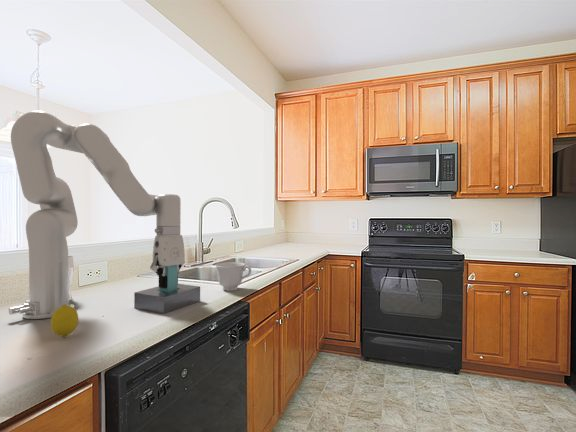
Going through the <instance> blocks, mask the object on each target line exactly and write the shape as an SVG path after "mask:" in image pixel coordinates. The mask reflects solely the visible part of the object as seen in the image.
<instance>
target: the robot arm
mask: <svg viewBox="0 0 576 432" xmlns="http://www.w3.org/2000/svg"><path fill="white" fill-rule="evenodd" d="M10 130H11V131H10V141H11V142H10V144H11V147H12V152H13V156H14V159H15V165H16V169H17V174H18V178H19V182H20V187H21V190H22V191H21V192H22V194H23V196H24V198H25V199H26V200H27V201H28V202H29V203H31V204H35V205H39V207H40V208H39V209H38V210H36V211H35V212H33V213H31V214H30V215H29V217H28V219H27V220H26V223H25V234H26V239H27V245H28V246H27V247H28V263H29V264H28V267H29V268H28V274H29V275H28V282H29V283H28V285H29V289H28V291H29V292H28V294H29V296H28V297H29V298H28V300H27V299H26V300H25V302H24V303H22V304H21V305H19V306H18V305H17V306H13V307H12V306H11V307H9V308H8V314H9V315H11V316H12V315H14V314H18V313H19V314H20V315H22V318H23V319H26V320H43V319H51V318H52V315H53V313H54V312H55V311H56V310H57V309H58V308H60V307H62V306H63V305H67V306H71V307H73V308H74V309H75V305H74V304H72V303H69V301H68V256H69V248H68V247H69V246H68V241H67V237H70V236H71V235H73V234H74V233H75V232H76V231H77V228H78V215H77V211H76V207H75V203H74V198H73V193H72V190H71V188H70V186H69V185H68V183H67V182H66V181H65V180H64V179H62V178H61V177H58V176H56V173H55V171H54V167H53V161H52V156H51V155H50V153H49V150H48V146H50V147H53V148H56V149H59V150H60V149H61V150H66V151H70V152H75V153H80V154H84V156H85V157H86V158H87V159H88V161H89V162H91V164H92V165H93V166H94V168H95V169H96V170H97V172H98V173H99V174H100V175H101V176H102V178H103V180H104V181H105V182H106V184H107V185H108V187H110V189H111V190H112V192H113V193H114V194H115V195H116V198H117V197H118V199H119V200H120V201H121V203H122V204H123V205H124V206H125V208H126V209H127V210H128V211H129V212H130V213H131V214H133V216H134V215H135V216H137V217H149V216H156V228H155V229H154V233H155V234H156V236H154V241H153V249H152V262H151V265H150V267H149V269H150V270H152V271H153V272H155V273H156V276H158V286H159V288H167V276H165V275H166V269H167V267H169V266H175V265H177V285H178V284H179V273H180V271H181V268H182V267H183V266H184V264H185V262H186V261H185V259H186V257H185V242H184V238H183V235H182V234H181V209H182V208H181V205H182V204H181V201H182V200H181V197H180V196H179V195H178V194H171V193H169V194H168V193H166V194H165V193H163V194H159V195H157V194H149V192H147V190H146V189H145V188H144V187H143V185H142V184H141V183H140V182H139V181H138V179H137V178H136V176H135V175H134V174H133V172H132V170H131V168H130V165H129V163H128V162H127V160H126V159H125V157H124V156H123V155H122V153H121V152H120V151H119V150H118V149H117V148H116V146H115V145H114V144H113V143H112V141H111V140H110V137H109V136H108V134H107V133H105V132H104V131H103V130H102V129H101V128H100V127H99V126H97V125H96V124H91V123H83V124H80V125H78V126H76V125H72V124H68V123H65V122H63V121H62V120H61V119H59V118H58V117H56V116H54V115H52V114H51V113H49V112H46V111H43V110H31V111H29V112H26V113H24V114H23V115H21V116H20V117H18V118H17V119H16V121H14V124H13V125H12V127H11V129H10ZM47 145H48V146H47ZM162 268H163V269H162ZM161 269H162V270H161Z"/></svg>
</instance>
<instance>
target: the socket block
mask: <svg viewBox="0 0 576 432" xmlns="http://www.w3.org/2000/svg"><path fill="white" fill-rule="evenodd" d="M133 294H134V296H133V297H134V298H133V299H134V303H133V304H134V309H136V310H137V309H138V310H142V311H148V312H153V313H157V314H163V315H164V314H167V313H170V312H174V311H176V310H179V309H182V308H184V307H188V306H190V305H192V304H195V303H198V302H201V286H198V285H191V284H184V283H178V285H177V290H174V291H171V292H164V291H159V285H157V286H154V287H150V288H146V289H142V290H138V291H135V292H134V293H133Z"/></svg>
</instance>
